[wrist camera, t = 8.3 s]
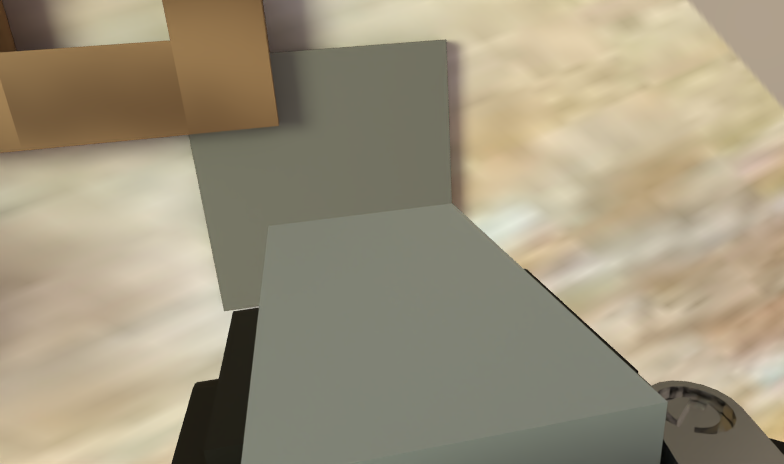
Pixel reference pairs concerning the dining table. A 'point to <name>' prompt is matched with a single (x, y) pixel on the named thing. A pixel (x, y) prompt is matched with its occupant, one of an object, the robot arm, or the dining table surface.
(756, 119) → the dining table surface
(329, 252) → the slate block
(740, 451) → the robot arm
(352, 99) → the coaster
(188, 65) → the board
